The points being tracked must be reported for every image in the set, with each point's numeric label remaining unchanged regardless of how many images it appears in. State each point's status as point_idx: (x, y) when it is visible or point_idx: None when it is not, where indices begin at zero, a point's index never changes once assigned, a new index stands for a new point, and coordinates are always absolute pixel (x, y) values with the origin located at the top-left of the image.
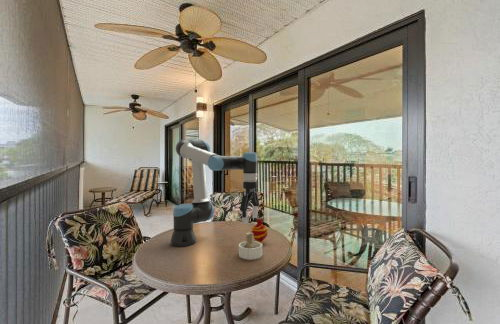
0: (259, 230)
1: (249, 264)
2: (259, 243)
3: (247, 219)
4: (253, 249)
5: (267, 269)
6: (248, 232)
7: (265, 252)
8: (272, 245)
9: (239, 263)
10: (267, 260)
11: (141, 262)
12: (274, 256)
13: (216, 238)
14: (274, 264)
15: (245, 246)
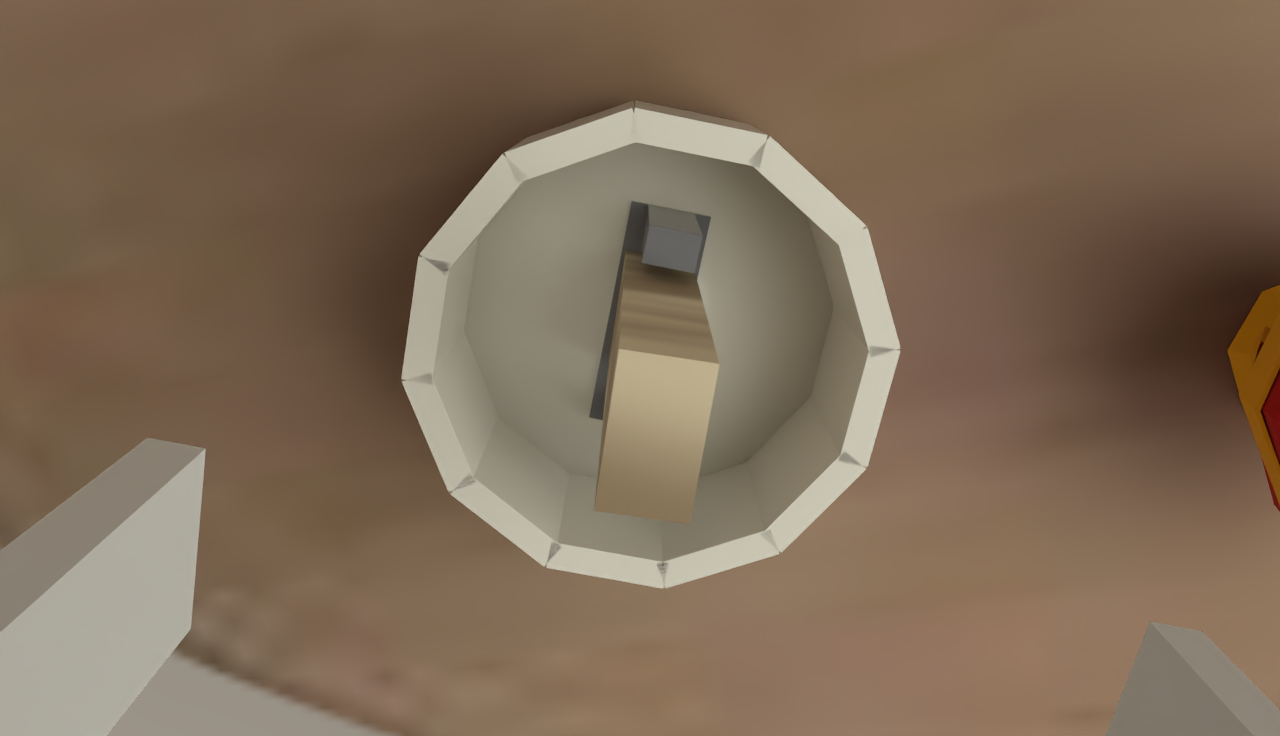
0: None
1: (276, 377)
2: (777, 514)
3: (108, 724)
4: (439, 461)
5: (196, 638)
6: (712, 390)
7: (812, 527)
8: (1162, 591)
9: (263, 217)
10: (495, 599)
11: None
12: (671, 672)
13: None
14: (383, 702)
15: (643, 255)
